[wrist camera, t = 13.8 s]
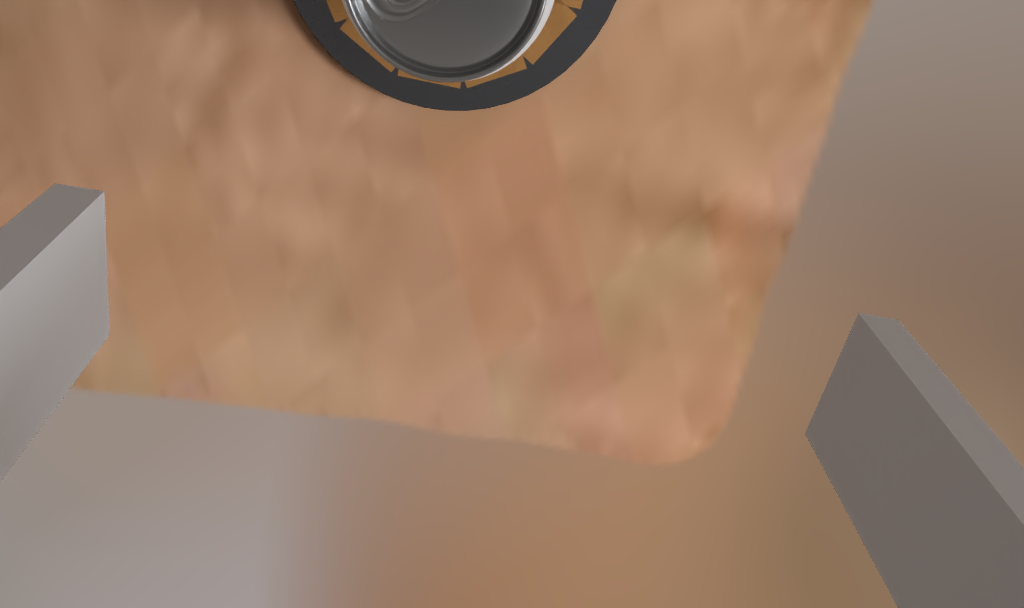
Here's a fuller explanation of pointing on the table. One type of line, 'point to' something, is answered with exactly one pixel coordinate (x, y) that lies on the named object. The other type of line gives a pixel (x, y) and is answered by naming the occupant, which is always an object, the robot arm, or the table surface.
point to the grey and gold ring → (555, 49)
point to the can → (449, 34)
